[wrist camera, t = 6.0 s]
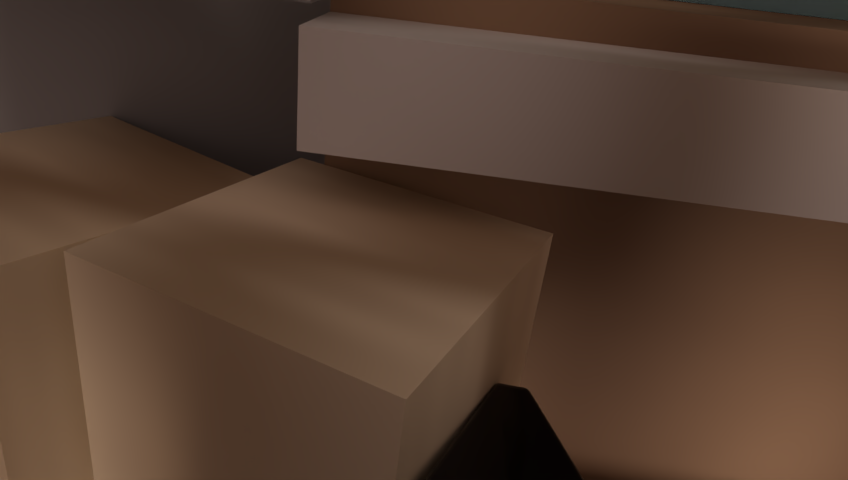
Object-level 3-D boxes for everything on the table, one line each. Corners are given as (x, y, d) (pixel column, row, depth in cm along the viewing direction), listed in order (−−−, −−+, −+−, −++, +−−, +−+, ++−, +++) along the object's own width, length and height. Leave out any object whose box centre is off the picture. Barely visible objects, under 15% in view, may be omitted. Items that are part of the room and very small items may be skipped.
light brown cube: (271, 183, 10) (-33, 275, 7) (267, 403, 11) (23, 556, 8) (110, 116, 12) (-183, 161, 8) (127, 311, 13) (-112, 408, 10)
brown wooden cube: (553, 233, 9) (405, 398, 5) (501, 465, 10) (367, 697, 7) (301, 157, 10) (63, 250, 7) (293, 371, 12) (100, 528, 9)
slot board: (1052, 43, 10) (1305, 95, 7) (817, 523, 14) (906, 692, 11) (361, -35, 11) (300, -21, 7) (335, 447, 15) (288, 587, 12)
